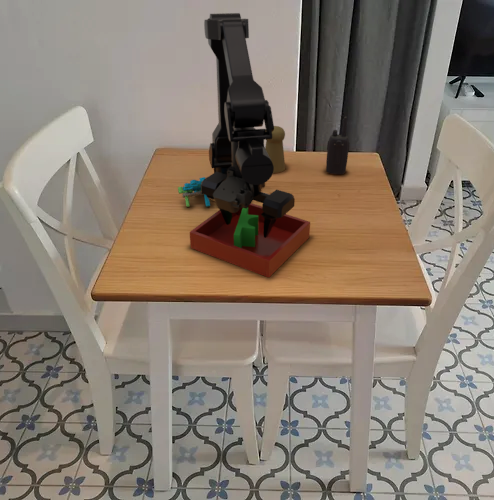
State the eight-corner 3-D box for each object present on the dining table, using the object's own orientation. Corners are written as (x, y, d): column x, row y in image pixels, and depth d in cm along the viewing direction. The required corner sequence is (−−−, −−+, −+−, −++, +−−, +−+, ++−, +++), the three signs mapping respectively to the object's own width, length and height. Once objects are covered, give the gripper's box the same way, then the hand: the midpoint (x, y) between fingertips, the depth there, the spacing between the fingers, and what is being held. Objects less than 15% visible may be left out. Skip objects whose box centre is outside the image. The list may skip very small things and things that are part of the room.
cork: (285, 173, 140) (287, 132, 134) (261, 172, 140) (262, 132, 134) (285, 163, 146) (286, 123, 139) (262, 162, 145) (263, 122, 139)
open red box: (190, 248, 112) (189, 231, 109) (236, 213, 123) (235, 198, 121) (268, 277, 104) (269, 260, 102) (309, 237, 116) (310, 221, 114)
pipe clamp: (252, 255, 109) (252, 236, 107) (234, 254, 110) (233, 235, 107) (260, 226, 118) (260, 207, 116) (243, 224, 119) (242, 206, 116)
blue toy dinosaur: (226, 184, 131) (223, 170, 121) (230, 207, 130) (228, 196, 120) (180, 192, 131) (174, 179, 121) (184, 215, 130) (178, 205, 120)
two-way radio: (346, 170, 143) (352, 114, 134) (346, 178, 139) (352, 121, 131) (325, 168, 143) (329, 113, 135) (324, 176, 139) (329, 120, 131)
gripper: (181, 164, 102) (186, 234, 111) (267, 190, 94) (265, 263, 103) (215, 144, 110) (218, 211, 119) (297, 166, 102) (293, 236, 111)
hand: (246, 230), depth 113 cm, fingers open, 9 cm apart
